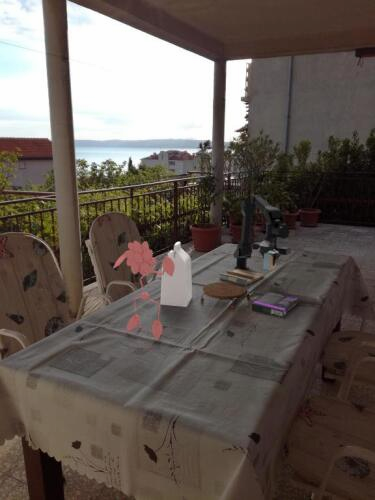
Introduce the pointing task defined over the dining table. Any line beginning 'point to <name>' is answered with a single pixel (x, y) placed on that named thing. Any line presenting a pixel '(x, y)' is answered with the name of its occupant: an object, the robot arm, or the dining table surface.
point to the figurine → (142, 263)
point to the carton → (268, 261)
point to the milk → (177, 279)
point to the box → (274, 303)
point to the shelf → (240, 276)
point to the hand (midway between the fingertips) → (269, 265)
